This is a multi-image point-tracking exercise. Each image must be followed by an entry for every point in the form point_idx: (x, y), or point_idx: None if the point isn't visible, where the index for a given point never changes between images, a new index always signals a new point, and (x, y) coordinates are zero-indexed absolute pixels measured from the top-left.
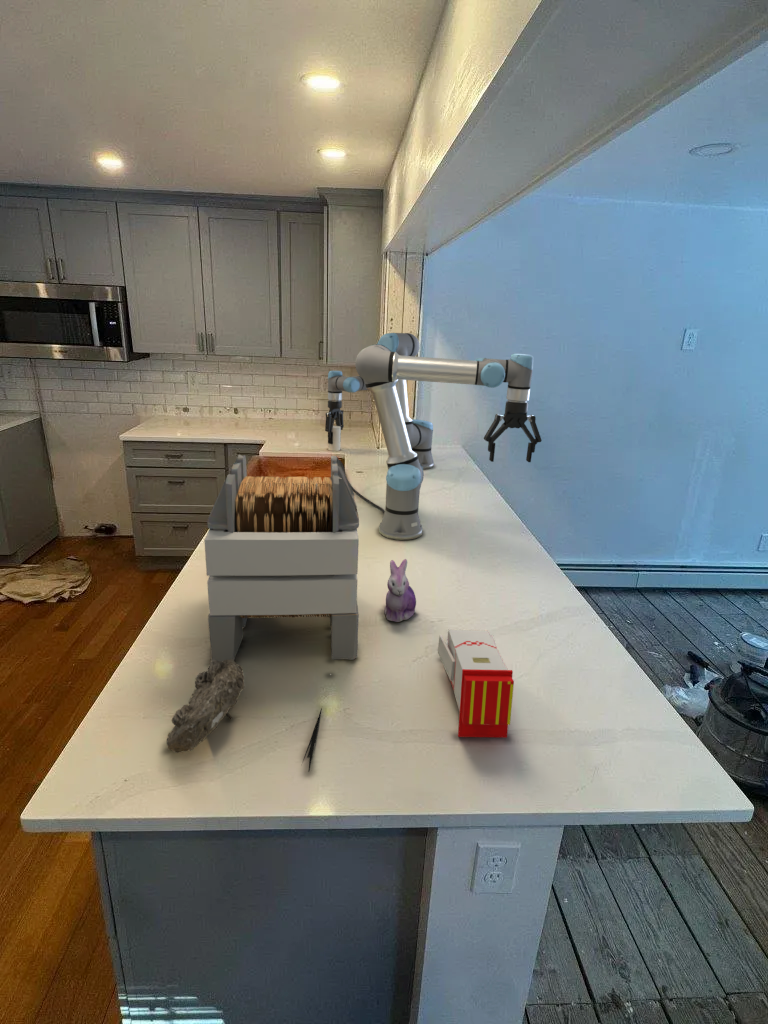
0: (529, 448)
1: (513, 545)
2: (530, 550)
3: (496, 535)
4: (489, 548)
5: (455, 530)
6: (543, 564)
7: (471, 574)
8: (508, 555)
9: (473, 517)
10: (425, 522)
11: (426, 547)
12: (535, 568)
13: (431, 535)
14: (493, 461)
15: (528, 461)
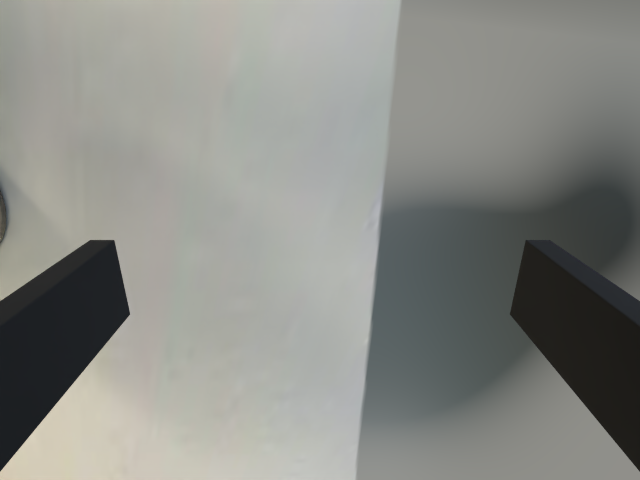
0: (619, 396)
1: (311, 301)
2: (351, 334)
3: (278, 224)
4: (229, 321)
5: (132, 176)
6: (351, 408)
7: (156, 447)
8: (274, 362)
9: (225, 16)
10: (6, 86)
11: None
12: (321, 426)
13: (43, 223)
14: (129, 314)
15: (514, 309)
